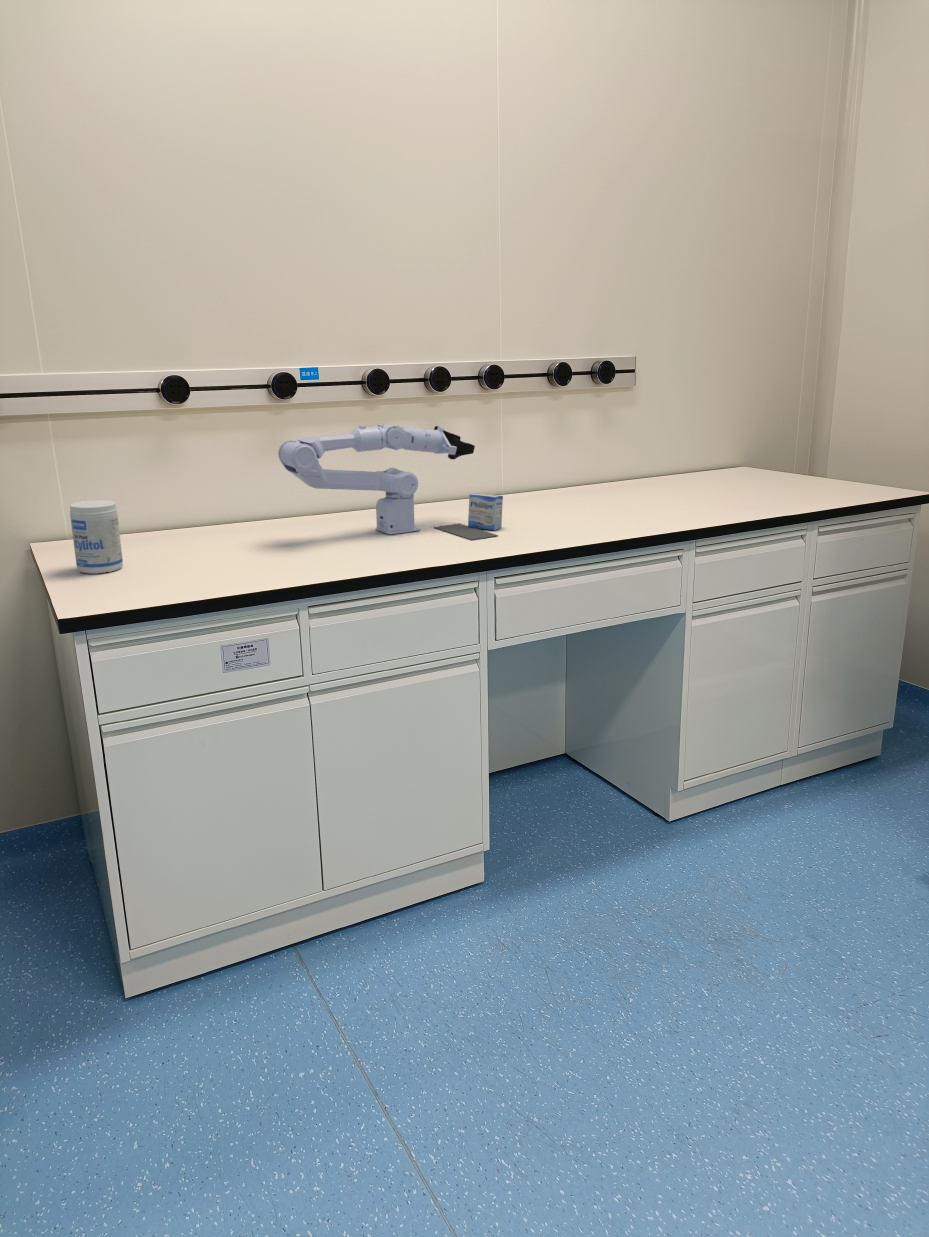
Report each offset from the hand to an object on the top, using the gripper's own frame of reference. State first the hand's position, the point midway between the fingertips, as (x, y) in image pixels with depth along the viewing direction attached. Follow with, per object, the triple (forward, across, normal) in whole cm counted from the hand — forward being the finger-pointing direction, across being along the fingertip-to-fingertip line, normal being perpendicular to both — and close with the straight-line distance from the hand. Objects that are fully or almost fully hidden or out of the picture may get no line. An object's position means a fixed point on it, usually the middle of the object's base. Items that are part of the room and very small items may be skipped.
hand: (466, 444), depth 237 cm
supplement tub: (-90, -6, +35) cm, 97 cm away
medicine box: (+2, -15, +18) cm, 23 cm away
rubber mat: (-4, -16, +18) cm, 25 cm away
